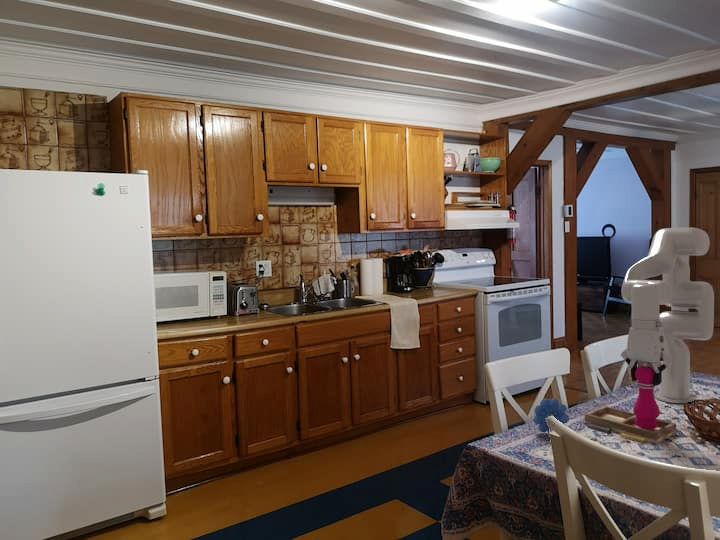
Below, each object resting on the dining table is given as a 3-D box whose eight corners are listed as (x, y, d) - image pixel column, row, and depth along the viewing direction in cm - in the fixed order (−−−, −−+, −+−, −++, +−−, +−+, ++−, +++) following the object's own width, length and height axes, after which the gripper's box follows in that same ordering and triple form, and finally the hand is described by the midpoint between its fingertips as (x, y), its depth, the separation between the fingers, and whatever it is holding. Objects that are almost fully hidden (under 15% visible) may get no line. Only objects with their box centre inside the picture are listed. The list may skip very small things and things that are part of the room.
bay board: (605, 414, 191) (605, 405, 191) (676, 433, 173) (676, 423, 172) (580, 425, 183) (580, 416, 183) (651, 445, 164) (651, 435, 164)
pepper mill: (658, 431, 169) (658, 365, 167) (631, 427, 173) (631, 363, 171) (660, 423, 175) (660, 359, 174) (634, 419, 179) (634, 357, 177)
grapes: (575, 435, 174) (575, 397, 173) (565, 442, 170) (564, 403, 169) (541, 427, 183) (540, 390, 182) (530, 433, 178) (529, 395, 177)
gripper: (681, 325, 167) (681, 385, 168) (624, 319, 181) (625, 374, 182) (668, 329, 162) (668, 391, 164) (611, 322, 176) (612, 379, 178)
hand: (646, 382), depth 173 cm, fingers closed on pepper mill, 5 cm apart
